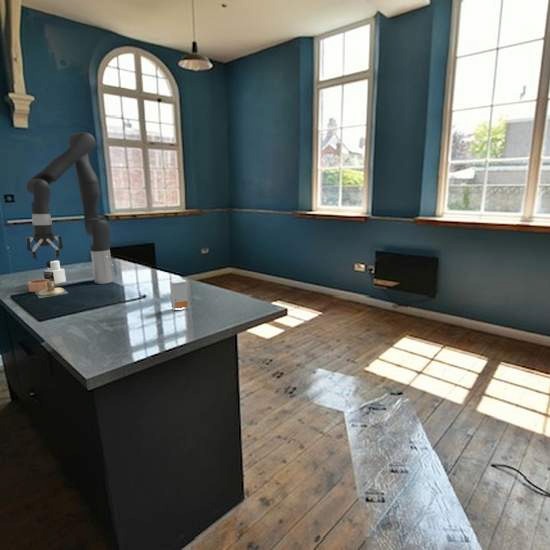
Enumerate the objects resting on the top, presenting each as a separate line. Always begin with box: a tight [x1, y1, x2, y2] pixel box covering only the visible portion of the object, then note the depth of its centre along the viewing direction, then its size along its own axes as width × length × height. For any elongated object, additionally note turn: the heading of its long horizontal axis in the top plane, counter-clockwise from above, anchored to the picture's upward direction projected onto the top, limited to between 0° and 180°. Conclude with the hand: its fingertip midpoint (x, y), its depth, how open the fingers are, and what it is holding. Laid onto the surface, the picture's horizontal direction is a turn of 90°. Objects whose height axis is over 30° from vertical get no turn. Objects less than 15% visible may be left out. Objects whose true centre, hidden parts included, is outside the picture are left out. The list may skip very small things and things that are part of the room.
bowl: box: [27, 278, 50, 293], centre depth 188 cm, size 9×9×4 cm
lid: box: [39, 281, 65, 297], centre depth 180 cm, size 10×10×6 cm
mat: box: [35, 289, 69, 299], centre depth 181 cm, size 12×12×1 cm
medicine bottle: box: [43, 259, 67, 285], centre depth 201 cm, size 7×7×12 cm
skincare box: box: [169, 278, 189, 309], centre depth 155 cm, size 6×4×12 cm
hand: (46, 258), depth 177 cm, fingers open, 8 cm apart
